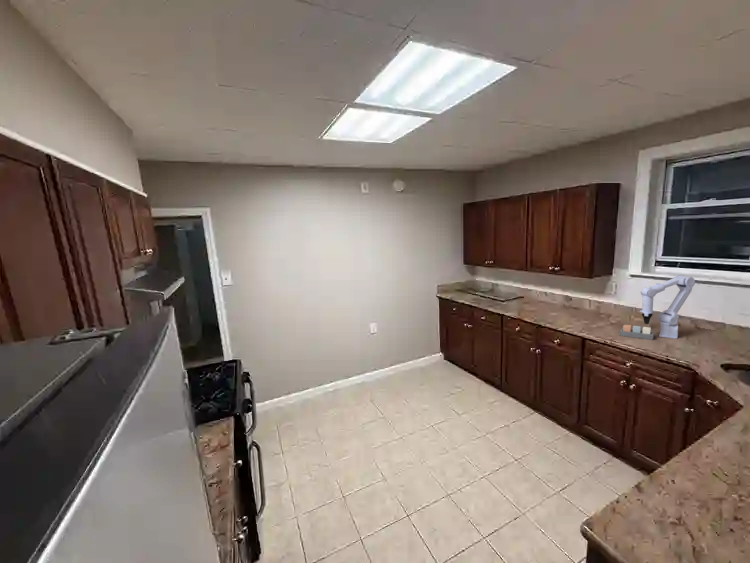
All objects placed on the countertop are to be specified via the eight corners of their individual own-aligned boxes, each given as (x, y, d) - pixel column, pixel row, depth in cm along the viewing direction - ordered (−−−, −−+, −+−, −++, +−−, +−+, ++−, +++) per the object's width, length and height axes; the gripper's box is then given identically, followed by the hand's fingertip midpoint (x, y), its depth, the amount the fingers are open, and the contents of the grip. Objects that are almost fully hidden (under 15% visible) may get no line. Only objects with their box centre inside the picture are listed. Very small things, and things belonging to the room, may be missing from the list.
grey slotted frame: (653, 336, 233) (654, 331, 232) (652, 340, 227) (653, 335, 226) (621, 332, 246) (621, 328, 245) (619, 335, 239) (619, 331, 239)
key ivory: (650, 332, 232) (650, 327, 231) (650, 334, 229) (650, 329, 228) (643, 331, 235) (643, 326, 234) (642, 333, 232) (642, 328, 231)
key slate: (640, 331, 236) (640, 326, 235) (640, 333, 233) (640, 328, 232) (633, 330, 239) (633, 325, 238) (632, 332, 236) (632, 327, 235)
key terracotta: (631, 330, 239) (631, 325, 239) (630, 331, 236) (630, 326, 236) (623, 329, 242) (624, 324, 242) (623, 331, 239) (623, 326, 239)
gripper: (641, 302, 237) (640, 320, 239) (639, 306, 226) (638, 325, 228) (654, 303, 232) (653, 321, 234) (652, 307, 222) (651, 327, 224)
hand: (646, 323), depth 231 cm, fingers closed
